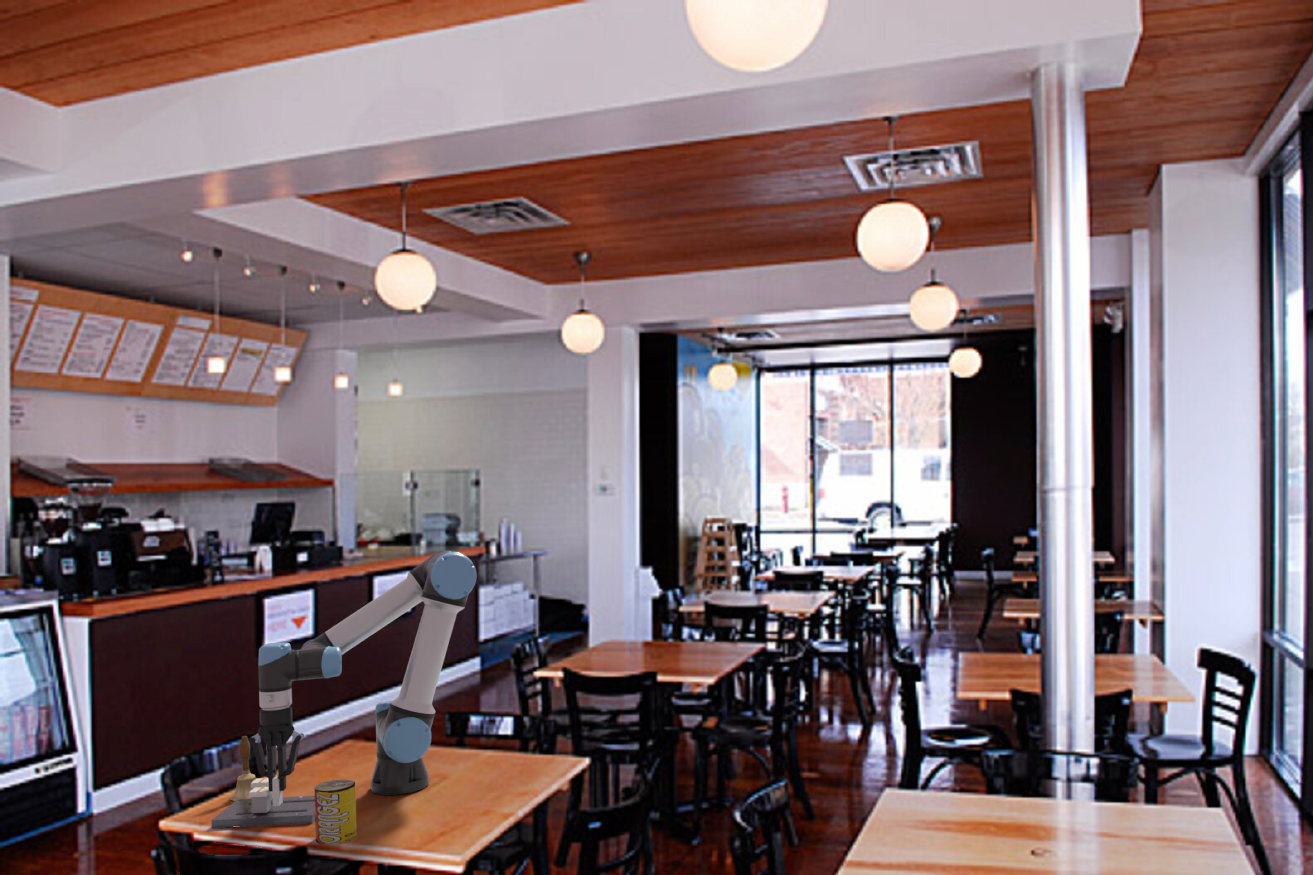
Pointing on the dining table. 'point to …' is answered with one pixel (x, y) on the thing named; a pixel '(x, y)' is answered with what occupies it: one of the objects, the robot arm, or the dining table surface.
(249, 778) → the hand bell
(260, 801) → the fader near
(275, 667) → the robot arm
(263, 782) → the block
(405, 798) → the dining table surface
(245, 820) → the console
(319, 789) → the beverage can
